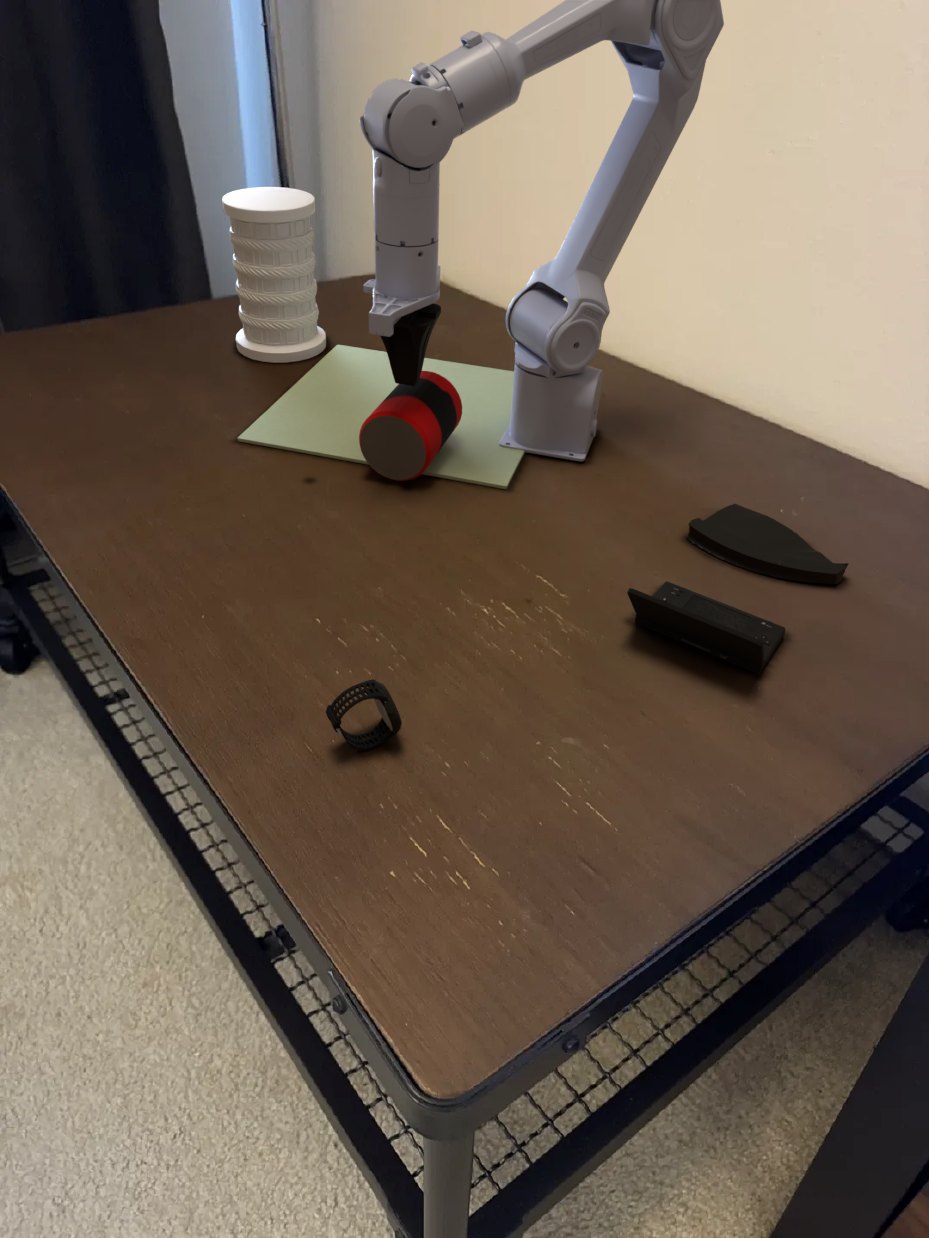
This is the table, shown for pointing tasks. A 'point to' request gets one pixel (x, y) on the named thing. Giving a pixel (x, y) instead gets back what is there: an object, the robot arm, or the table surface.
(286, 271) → the decorative container
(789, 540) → the curved wedge
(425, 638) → the table surface
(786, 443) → the table surface
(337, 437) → the mat
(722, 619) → the handheld gaming console
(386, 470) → the soda can
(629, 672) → the table surface
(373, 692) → the smartwatch
